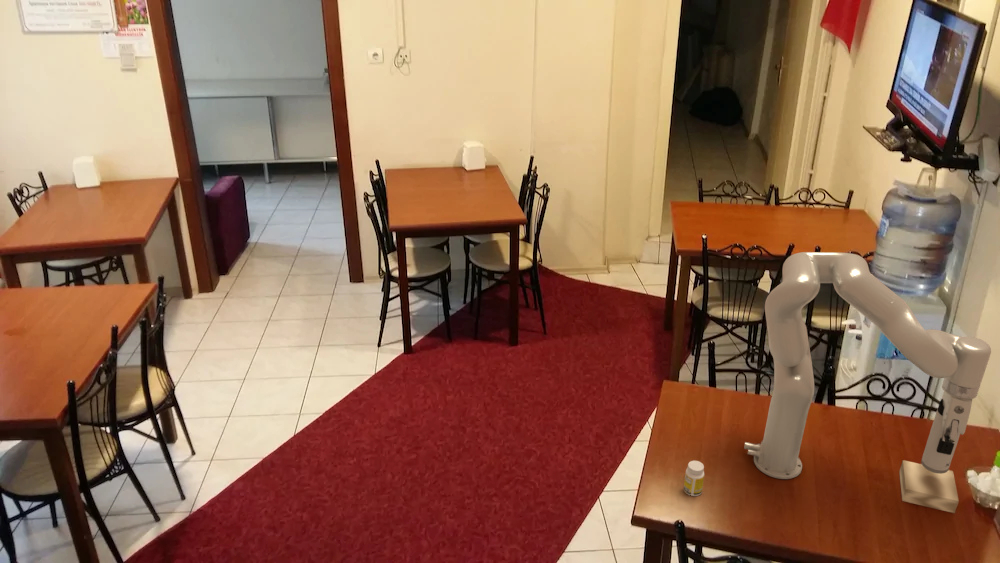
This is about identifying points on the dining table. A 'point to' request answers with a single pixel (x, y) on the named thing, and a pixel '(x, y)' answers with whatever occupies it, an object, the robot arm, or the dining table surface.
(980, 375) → the robot arm
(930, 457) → the travel mug
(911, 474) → the plinth
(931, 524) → the dining table surface
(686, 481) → the supplement bottle
